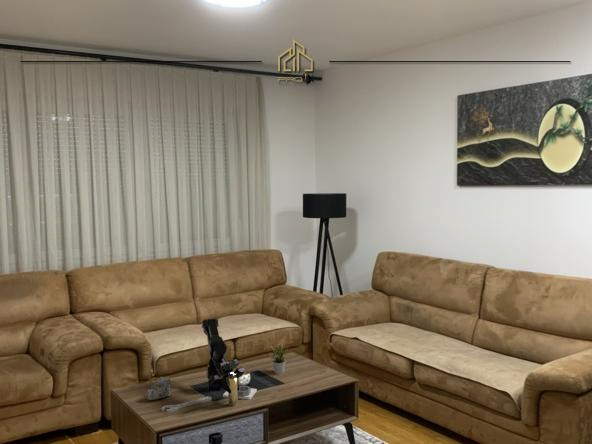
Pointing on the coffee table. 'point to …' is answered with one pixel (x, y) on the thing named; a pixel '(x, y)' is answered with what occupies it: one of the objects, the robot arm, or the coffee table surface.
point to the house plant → (278, 359)
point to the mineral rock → (159, 389)
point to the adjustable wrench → (184, 404)
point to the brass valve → (233, 391)
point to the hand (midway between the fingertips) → (234, 391)
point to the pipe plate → (243, 392)
